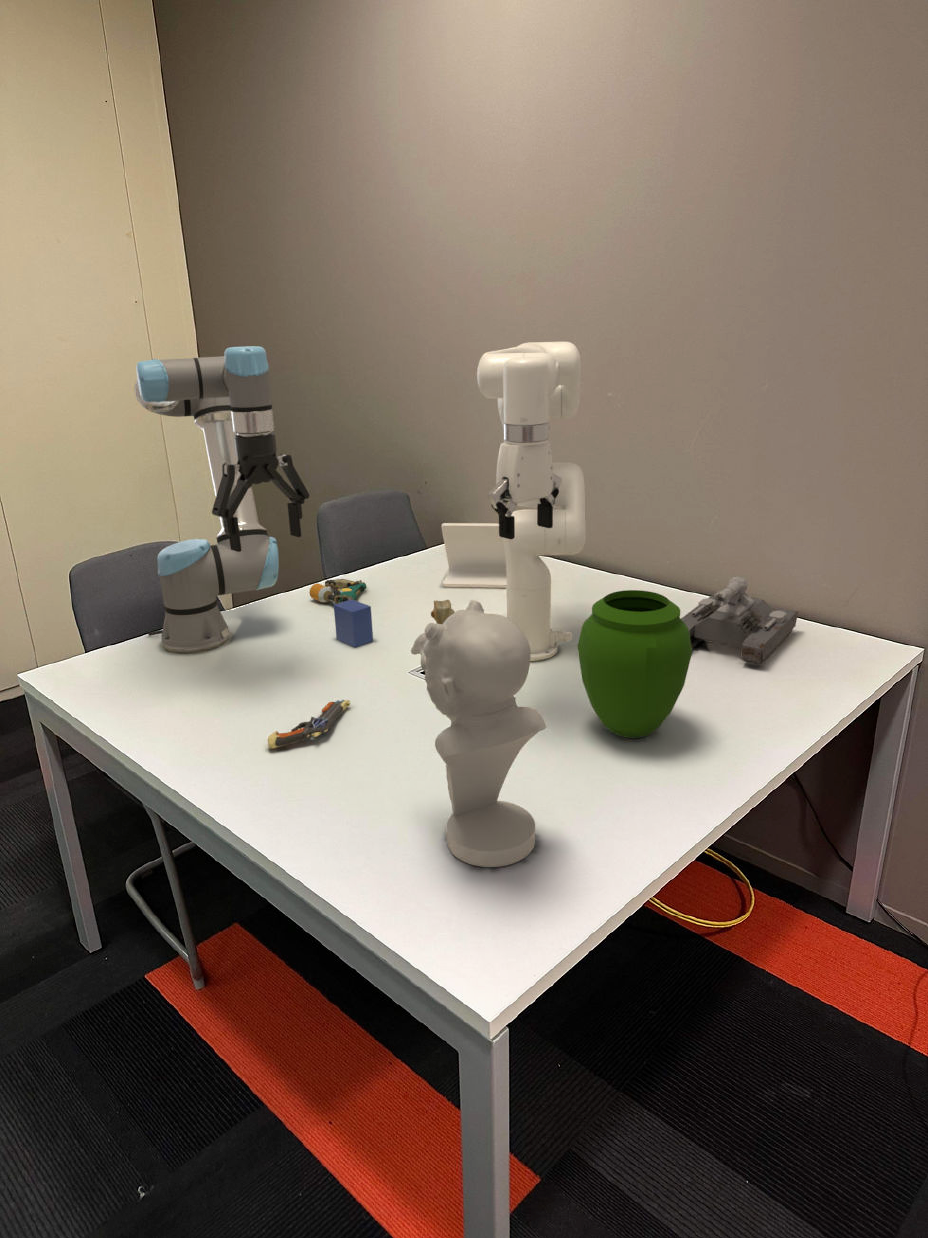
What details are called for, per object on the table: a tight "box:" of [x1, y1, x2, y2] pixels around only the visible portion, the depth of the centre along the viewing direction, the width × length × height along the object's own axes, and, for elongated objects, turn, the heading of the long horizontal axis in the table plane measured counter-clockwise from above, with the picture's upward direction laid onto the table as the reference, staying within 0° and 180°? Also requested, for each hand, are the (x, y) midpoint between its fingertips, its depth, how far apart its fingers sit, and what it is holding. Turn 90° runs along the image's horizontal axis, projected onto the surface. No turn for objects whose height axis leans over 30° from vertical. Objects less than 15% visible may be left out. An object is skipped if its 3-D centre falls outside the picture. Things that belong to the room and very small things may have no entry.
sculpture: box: [430, 599, 456, 624], centre depth 177 cm, size 6×7×15 cm
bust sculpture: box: [410, 599, 547, 868], centre depth 121 cm, size 16×24×35 cm
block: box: [333, 599, 374, 648], centre depth 196 cm, size 5×7×9 cm
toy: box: [680, 576, 799, 666], centre depth 187 cm, size 25×20×15 cm
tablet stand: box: [441, 522, 507, 589], centre depth 235 cm, size 18×25×17 cm
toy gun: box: [267, 699, 351, 749], centre depth 157 cm, size 3×19×10 cm
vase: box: [576, 589, 693, 739], centre depth 149 cm, size 20×20×24 cm
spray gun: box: [308, 578, 367, 604], centre depth 226 cm, size 4×17×15 cm
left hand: (266, 543), depth 167 cm, fingers open, 13 cm apart
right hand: (526, 532), depth 150 cm, fingers open, 9 cm apart
